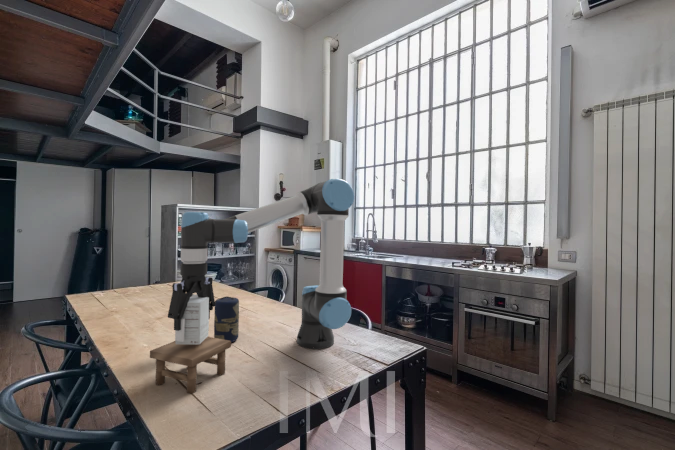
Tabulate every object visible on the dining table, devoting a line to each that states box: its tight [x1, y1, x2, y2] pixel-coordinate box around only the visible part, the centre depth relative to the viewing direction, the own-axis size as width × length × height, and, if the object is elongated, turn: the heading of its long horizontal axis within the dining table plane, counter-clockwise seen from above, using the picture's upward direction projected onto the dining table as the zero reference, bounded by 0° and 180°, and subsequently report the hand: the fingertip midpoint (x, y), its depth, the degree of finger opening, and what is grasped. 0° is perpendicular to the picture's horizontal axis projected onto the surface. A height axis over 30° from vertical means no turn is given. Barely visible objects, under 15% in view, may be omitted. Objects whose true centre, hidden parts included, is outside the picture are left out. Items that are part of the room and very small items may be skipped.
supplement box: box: [174, 297, 210, 345], centre depth 99 cm, size 7×7×13 cm
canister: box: [213, 296, 240, 343], centre depth 131 cm, size 10×10×18 cm
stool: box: [149, 336, 232, 394], centre depth 99 cm, size 16×16×10 cm
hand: (192, 335), depth 99 cm, fingers closed on supplement box, 9 cm apart
